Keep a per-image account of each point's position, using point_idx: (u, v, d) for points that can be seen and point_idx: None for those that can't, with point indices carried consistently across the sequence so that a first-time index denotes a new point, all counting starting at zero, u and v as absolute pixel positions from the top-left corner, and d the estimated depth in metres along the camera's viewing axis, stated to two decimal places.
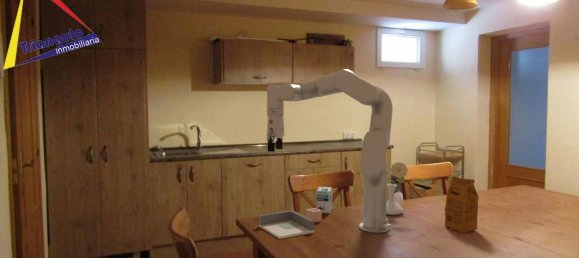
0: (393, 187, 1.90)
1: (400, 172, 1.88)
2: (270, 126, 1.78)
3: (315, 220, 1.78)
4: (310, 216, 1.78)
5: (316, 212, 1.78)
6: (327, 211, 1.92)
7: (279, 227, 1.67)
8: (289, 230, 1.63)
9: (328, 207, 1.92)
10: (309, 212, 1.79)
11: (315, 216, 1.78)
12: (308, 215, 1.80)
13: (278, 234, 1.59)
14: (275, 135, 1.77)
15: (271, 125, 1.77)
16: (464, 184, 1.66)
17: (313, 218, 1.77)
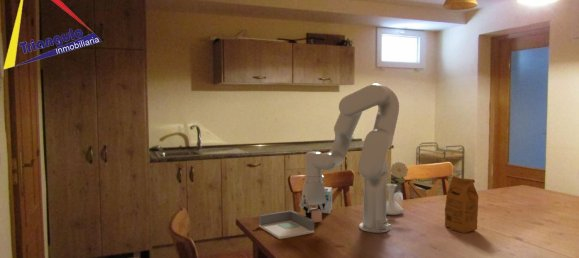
0: (393, 187, 1.90)
1: (400, 172, 1.88)
2: None
3: (315, 220, 1.78)
4: None
5: (316, 212, 1.78)
6: (327, 211, 1.92)
7: (279, 227, 1.67)
8: (289, 230, 1.63)
9: (328, 207, 1.92)
10: None
11: (315, 216, 1.78)
12: None
13: (278, 234, 1.59)
14: None
15: None
16: (464, 184, 1.66)
17: (313, 218, 1.77)
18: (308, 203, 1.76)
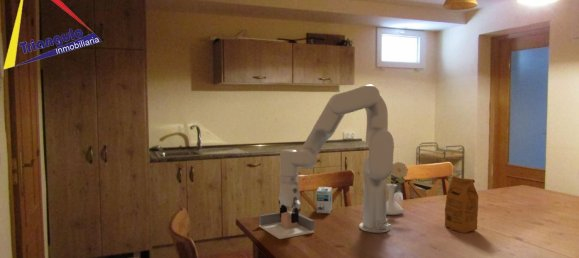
0: (393, 187, 1.90)
1: (400, 172, 1.88)
2: (294, 196, 1.64)
3: (283, 223, 1.69)
4: None
5: (283, 215, 1.68)
6: (327, 211, 1.92)
7: (279, 227, 1.67)
8: (289, 230, 1.63)
9: (328, 207, 1.92)
10: None
11: (283, 219, 1.69)
12: None
13: (278, 234, 1.59)
14: None
15: (295, 194, 1.65)
16: (464, 184, 1.66)
17: (282, 220, 1.70)
18: (280, 201, 1.72)
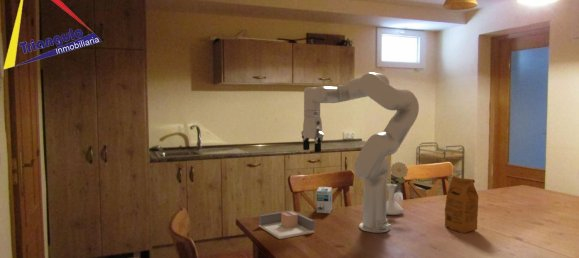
0: (393, 187, 1.90)
1: (400, 172, 1.87)
2: (317, 127, 1.82)
3: (283, 223, 1.69)
4: None
5: (283, 215, 1.68)
6: (327, 211, 1.92)
7: (279, 227, 1.67)
8: (289, 230, 1.63)
9: (328, 207, 1.92)
10: None
11: (283, 219, 1.69)
12: None
13: (278, 234, 1.59)
14: None
15: (318, 126, 1.83)
16: (464, 184, 1.66)
17: (282, 220, 1.70)
18: (303, 135, 1.90)
